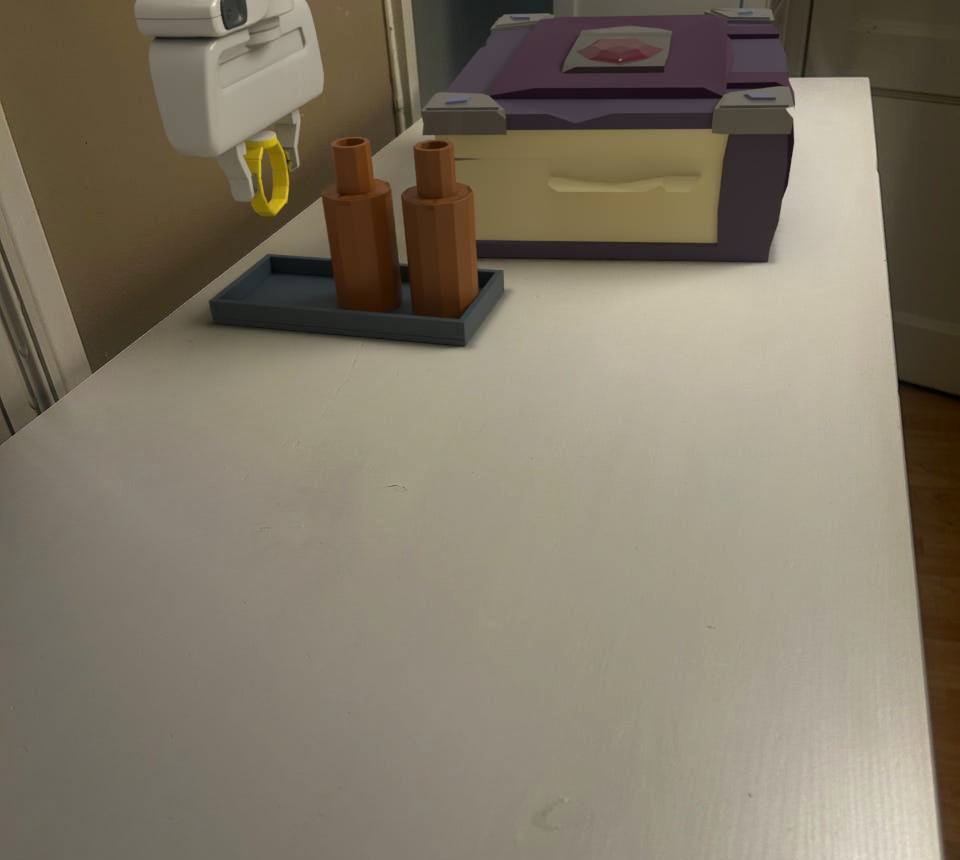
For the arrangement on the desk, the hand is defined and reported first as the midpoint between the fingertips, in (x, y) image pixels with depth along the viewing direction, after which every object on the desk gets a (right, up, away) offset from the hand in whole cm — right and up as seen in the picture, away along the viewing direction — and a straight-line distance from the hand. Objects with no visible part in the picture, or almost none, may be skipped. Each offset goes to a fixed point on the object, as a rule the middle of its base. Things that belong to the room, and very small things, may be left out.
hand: (267, 184), depth 81 cm
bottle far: (+15, -10, +3) cm, 18 cm away
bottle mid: (+8, -9, +5) cm, 13 cm away
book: (+33, +12, +26) cm, 44 cm away
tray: (+7, -9, +5) cm, 12 cm away
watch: (0, -2, +2) cm, 2 cm away
